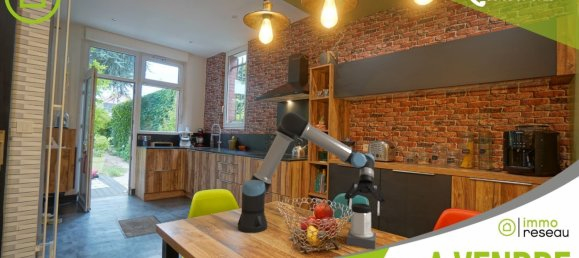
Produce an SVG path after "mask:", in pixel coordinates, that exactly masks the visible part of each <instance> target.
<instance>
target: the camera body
mask: <svg viewBox="0 0 579 258" xmlns="http://www.w3.org/2000/svg"><path fill="white" fill-rule="evenodd" d="M345 242H346V243H345V244H346V246H351V247H357V248H365V249H370V248H371V250H375V249H376V244H377V232H374V231H371V234H368V235H358V234H354V233H353V232H352V231H351V228H350V229H349V230H348V232H347V235H346V241H345Z"/></svg>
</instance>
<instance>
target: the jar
mask: <svg viewBox="0 0 579 258" xmlns="http://www.w3.org/2000/svg"><path fill="white" fill-rule="evenodd" d="M351 212H354V214H353V215H352V216H351V215H350V229H351V231H352V232H353V233H354V234H358V235H368V234H371V232H372V212H371V206H370V205H369V204H367V203H363V202H362V203H361V202H359V203H356V202H355V203H352V205H351Z"/></svg>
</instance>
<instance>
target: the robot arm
mask: <svg viewBox="0 0 579 258" xmlns="http://www.w3.org/2000/svg"><path fill="white" fill-rule="evenodd" d="M275 133H276V136H275V137H274V140H273V142H272V144H271V146H270V147H269V149H268V151H267V153H266V155H265V157H264V159H263V161H262V163H261V164H260V166H259V168H258V170H257V171H256V172H255V173H253V174H252V176H251V178H250V179H249V180H246V181H244V182H243V183H242V185H241V186H242V187H241V213H240V217H239V219H238V221H237V230H238V231H240V232H243V233H249V234H250V233H261V232H264V231H266V230H268V221H267V217H266V213H265V205H266V204H265V199H266V198H265V197H266V195H267V193H268V191H269V190H270V188H271V186H272V184H273V183H272V179H273V176H274V173H275V172H276V170H277V168H278V166H279V164H280V163H281V161H282V158H283V157H284V155H285V153H286V150H287V149H288V147H289V146H290V143H291V142H294V141H295V139H296V137H298V138H299V139H301V138H304V139H305V140H308V141H309V142H310V143H312V144H314V145H316V146H317V147H319V148H321V149H323V150H325V151H327V152H328V153H330V154H332V155H334V156H335V157H337V158H339V160H340V162H343V164H347V165H350V166H352V167H354V168H357V169H359V176H358V183H357V184H356V183H355V182H352V185H351V186H350V188H349V189H348V190H347V191H346V193H345V194H344V199H345V200H347V202H346V203H347V206H348V209H349V208H350V209H351V210H352V204H353V203H352V202H353V199H354V198H355V197H357V196H358V195H359V194H361V193H362V194H370V195H371V196H372V197H373V198H374V199H375V200H376V202H377V216H378V217H379V216H380V210H382V209H383V204H386V203H387V199H386V197H385V195H384V194H383V191H382V190H381V188H380V185H379V184H377V185H374V181H375V180H374V178H375V164H376V162H375V156H374V155H373V154H371V153H369V152H368V153H367V152H365V153H362V152H359V151H357V150H355V149H353V148H352V147H350V146H348V145H346V144H344V143H343V142H341V141H339V140H338V139H336V138H334V137H332V136H331V135H329V134H327V133H325V132H324V131H322V130H320V129H318V128H317V127H315V126H313V125H311V123H310V121H309V120H307V119H305V118H303V117H302V116H301V115H299V114H298V113H297V112H293V111H288V112H287V113H285V114H283V115H282V117H281V119H280V122H279V124H278V127H277V128H276V130H275ZM374 189H375V190H376V191H377V193H376V192H375V190H374Z"/></svg>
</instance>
